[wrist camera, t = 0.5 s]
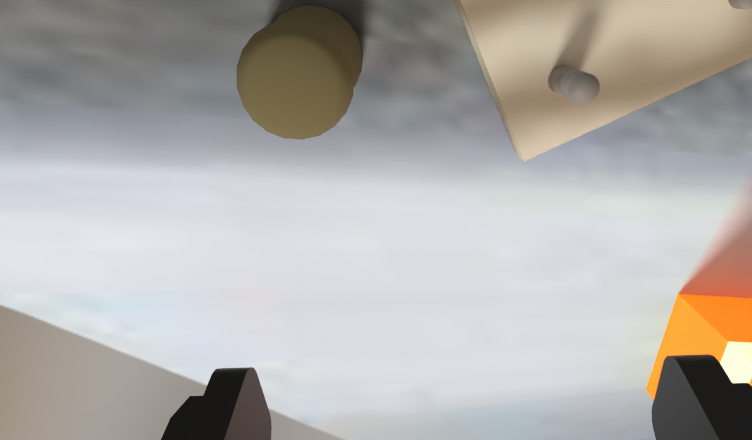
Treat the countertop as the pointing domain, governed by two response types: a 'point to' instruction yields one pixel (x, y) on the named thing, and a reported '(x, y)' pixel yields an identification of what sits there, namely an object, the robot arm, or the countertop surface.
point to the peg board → (596, 58)
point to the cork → (300, 72)
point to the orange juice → (709, 335)
